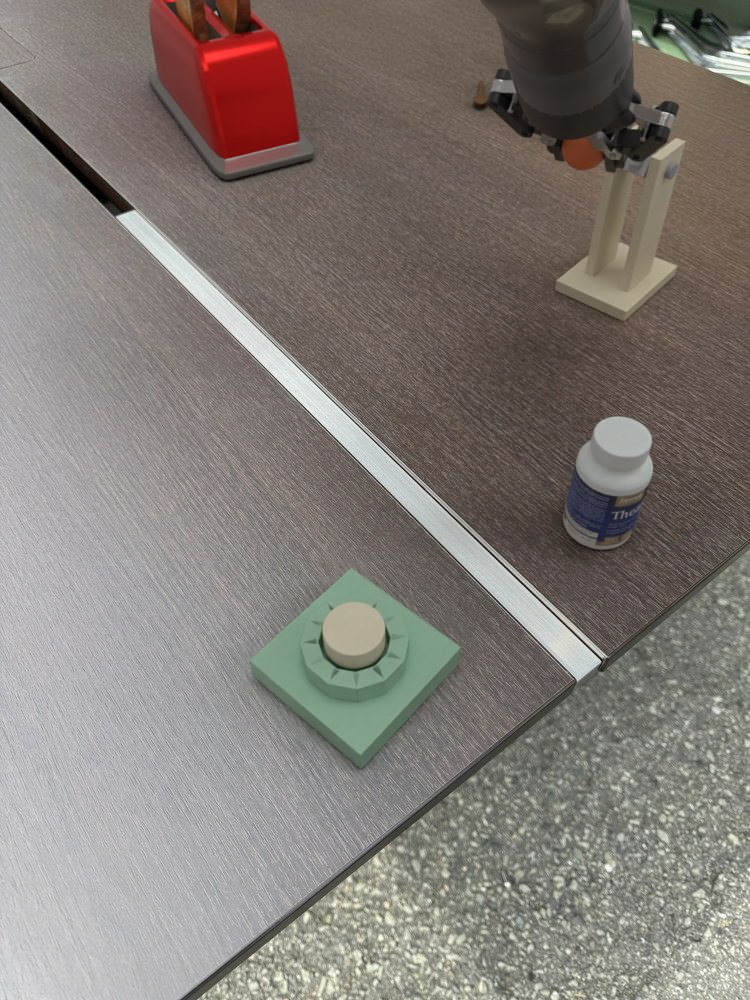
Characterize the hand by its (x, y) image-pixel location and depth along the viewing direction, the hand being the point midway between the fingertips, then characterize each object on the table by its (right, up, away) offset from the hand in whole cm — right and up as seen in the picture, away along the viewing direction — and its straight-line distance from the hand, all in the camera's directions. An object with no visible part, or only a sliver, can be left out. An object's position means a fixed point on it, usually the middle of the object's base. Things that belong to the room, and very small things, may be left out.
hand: (588, 154), depth 69 cm
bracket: (+7, -6, +17) cm, 20 cm away
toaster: (-37, +22, +42) cm, 60 cm away
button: (-19, -37, -14) cm, 44 cm away
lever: (+2, -1, +3) cm, 4 cm away
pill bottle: (0, -30, -3) cm, 30 cm away
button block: (-19, -40, -11) cm, 45 cm away
